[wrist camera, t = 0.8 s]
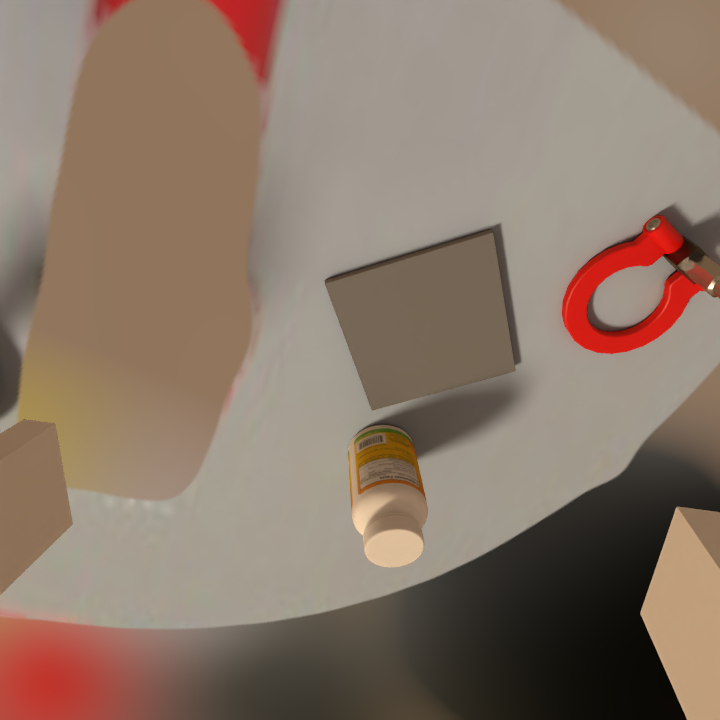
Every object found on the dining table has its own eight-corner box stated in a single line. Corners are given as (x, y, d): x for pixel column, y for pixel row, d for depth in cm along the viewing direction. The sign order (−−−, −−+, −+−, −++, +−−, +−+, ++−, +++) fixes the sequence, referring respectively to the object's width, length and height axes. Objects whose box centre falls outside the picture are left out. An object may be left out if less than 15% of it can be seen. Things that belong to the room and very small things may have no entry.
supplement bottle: (394, 478, 44) (410, 581, 36) (336, 461, 43) (340, 564, 35) (425, 434, 42) (450, 534, 34) (365, 414, 40) (377, 513, 32)
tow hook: (606, 363, 40) (718, 276, 36) (703, 497, 29) (877, 394, 25) (535, 304, 36) (649, 201, 32) (614, 429, 26) (798, 300, 22)
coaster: (324, 280, 34) (325, 283, 33) (490, 229, 33) (493, 232, 32) (371, 405, 40) (372, 410, 39) (513, 366, 39) (515, 370, 38)
